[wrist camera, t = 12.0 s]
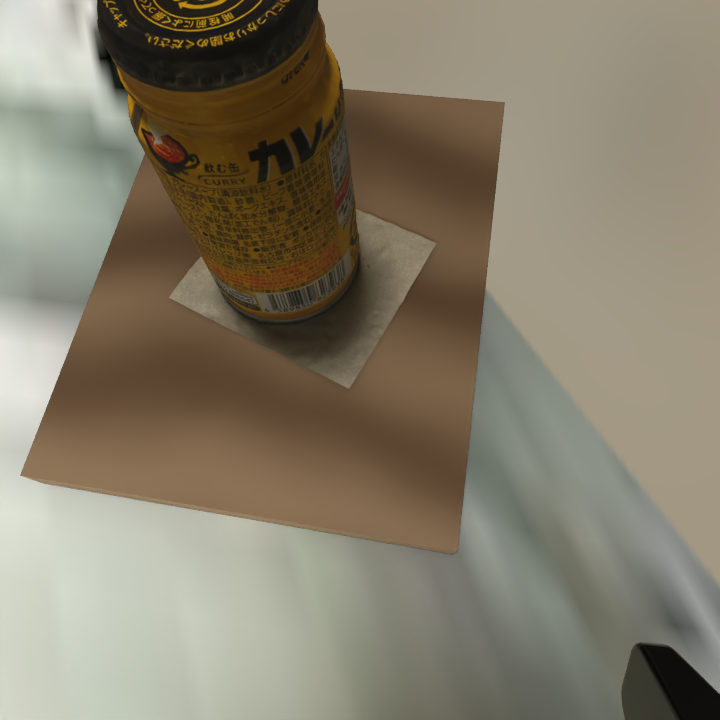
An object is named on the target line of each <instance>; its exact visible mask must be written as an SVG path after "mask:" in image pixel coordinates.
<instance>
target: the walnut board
mask: <svg viewBox="0 0 720 720" xmlns="http://www.w3.org/2000/svg"><path fill="white" fill-rule="evenodd" d="M343 91H344V101H345V112H346V120H347V129H348V138H349V154H350V163H351V173H352V183H353V189H354V196H355V197H354V199H355V203H356V209H357V210H360V211H362V212H364V213H367V214H371V215H373V216H375V217H377V218H378V219H381V220H383V221H385V222H389V223H392V224H394V225H396V226H398V227H400V228H402V229H404V230H406V231H409V232H412V233H415V234H417V235H420V236H422V237H424V238H425V239H428V240H430V241H432V242H435V243H436V245H435V247H434V248H433V250H432V252H431V253H430V255H429V257H428V258H427V260H426V262H425V264H424V265H423V267H422V269H421V271H420V273H419V274H418V276H417V277H416V279H415V280H414V282H413V284H412V285H411V287H410V289H409V291H408V293H407V295H406V296H405V298H404V301H403V302H402V303H401V305H400V306H399V308H398V310H397V311H396V313H395V315H394V316H393V318H392V320H391V322H390V323H389V325H388V326H387V328H386V330H385V332H384V333H383V335H382V337H381V338H380V339H379V341H378V343H377V345H376V346H375V348H374V350H373V351H372V353H371V355H370V356H369V358H368V359H367V361H366V363H365V365H364V366H363V368H362V369H361V370H360V372H359V374H358V375H357V377H356V379H355V380H354V382H353V384H352V385H351V387H350V388H349V389H348V388H346V387H344V386H342V385H340V384H339V383H337V382H335V381H333V380H331V379H329V378H327V377H325V376H323V375H321V374H319V373H317V372H314V371H312V370H310V369H308V368H306V367H303V366H302V365H300V364H298V363H296V362H294V361H292V360H290V359H289V358H286V357H284V356H283V355H281V354H279V353H277V352H276V351H274V350H272V349H270V348H268V347H265V346H263V345H260V344H258V343H256V342H255V341H253V340H250V339H248V338H246V337H244V336H242V335H240V334H239V333H237V332H234V331H232V330H230V329H228V328H226V327H224V326H222V325H220V324H219V323H217V322H215V321H214V320H211V319H209V318H207V317H205V316H203V315H201V314H199V313H197V312H195V311H194V310H192V309H190V308H188V307H186V306H184V305H182V304H180V303H178V302H176V301H174V300H172V299H170V298H169V296H170V295H171V294H172V292H173V291H174V289H175V288H176V287H177V285H178V284H179V283H180V281H181V280H182V279H183V278H184V276H185V275H186V274H187V272H188V271H189V269H190V268H191V267H193V265H194V264H195V263H196V261H197V260H198V259H199V258H200V257H201V255H200V253H199V251H198V249H197V247H196V245H195V244H194V242H193V240H192V238H191V236H190V235H189V233H188V231H187V229H186V227H185V225H184V223H183V222H182V220H181V217H180V216H179V214H178V212H177V211H176V209H175V207H174V205H173V203H172V201H171V199H170V197H169V196H168V194H167V192H166V190H165V189H164V187H163V185H162V183H161V181H160V179H159V177H158V175H157V173H156V171H155V169H154V168H153V166H152V164H151V162H150V160H149V159H148V157H147V155H146V153H145V156H144V158H143V161H142V163H141V166H140V168H139V171H138V174H137V176H136V179H135V181H134V184H133V186H132V189H131V192H130V194H129V197H128V199H127V202H126V204H125V207H124V210H123V212H122V215H121V217H120V220H119V223H118V225H117V228H116V230H115V233H114V235H113V238H112V241H111V243H110V246H109V248H108V251H107V253H106V256H105V259H104V261H103V264H102V266H101V269H100V271H99V274H98V277H97V279H96V282H95V284H94V287H93V289H92V292H91V295H90V297H89V300H88V302H87V305H86V308H85V310H84V313H83V315H82V318H81V320H80V323H79V326H78V328H77V331H76V333H75V336H74V338H73V341H72V344H71V346H70V349H69V351H68V354H67V356H66V359H65V362H64V364H63V367H62V369H61V372H60V375H59V377H58V380H57V382H56V385H55V387H54V390H53V393H52V395H51V398H50V400H49V403H48V405H47V408H46V411H45V413H44V416H43V418H42V421H41V423H40V426H39V429H38V431H37V434H36V436H35V439H34V441H33V444H32V447H31V449H30V452H29V454H28V457H27V460H26V462H25V465H24V467H23V470H22V472H21V475H20V476H23V477H26V478H29V479H32V480H35V481H38V482H41V483H45V484H50V485H56V486H62V487H68V488H73V489H79V490H85V491H91V492H96V493H102V494H108V495H114V496H119V497H125V498H131V499H137V500H142V501H148V502H154V503H160V504H166V505H171V506H177V507H183V508H189V509H194V510H200V511H206V512H212V513H217V514H223V515H229V516H235V517H240V518H246V519H252V520H258V521H263V522H269V523H275V524H281V525H286V526H292V527H298V528H304V529H310V530H315V531H321V532H327V533H333V534H338V535H344V536H350V537H356V538H361V539H367V540H373V541H379V542H384V543H390V544H396V545H402V546H407V547H413V548H419V549H425V550H430V551H436V552H442V553H448V554H455V553H456V552H457V551H458V544H459V534H460V524H461V515H462V505H463V496H464V486H465V477H466V467H467V458H468V448H469V438H470V429H471V419H472V410H473V400H474V391H475V381H476V372H477V362H478V352H479V343H480V333H481V324H482V314H483V305H484V295H485V286H486V276H487V267H488V257H489V247H490V238H491V228H492V219H493V209H494V199H495V189H496V180H497V171H498V161H499V152H500V142H501V133H502V123H503V113H504V102H492V101H480V100H469V99H457V98H445V97H433V96H420V95H409V94H397V93H385V92H372V91H361V90H349V89H343ZM362 258H363V260H365V259H366V258H364V257H362ZM367 267H368V269H369V268H370V265H367Z"/></svg>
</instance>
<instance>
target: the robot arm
mask: <svg viewBox="0 0 720 720" xmlns="http://www.w3.org/2000/svg"><path fill="white" fill-rule="evenodd" d="M622 706H623V711H624V716H625V720H720V694H719V693H718V692H717V691H716V690H715V689H714V688H713V687H712V686H711V685H710V684H709V683H708V682H707V681H706V680H705V679H704V678H703V677H702V676H701V675H700V674H699V673H698V672H697V671H696V670H695V669H694V668H693V667H692V666H690V665H689V664H688V663H687V662H686V661H685V660H684V659H683V658H682V657H681V656H680V655H679V654H678V653H677V652H676V651H675V650H674V649H672V648H671V647H669V646H667V645H663V644H652V643H641V642H640V643H637V644H635V645H634V647H633V649H632V651H631V655H630V658H629V662H628V666H627V670H626V673H625V677H624V681H623V685H622Z"/></svg>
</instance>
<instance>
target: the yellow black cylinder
mask: <svg viewBox="0 0 720 720" xmlns="http://www.w3.org/2000/svg"><path fill="white" fill-rule="evenodd" d="M97 13H98V21H97V22H98V29H99V32H100V35H101V39H102V40H103V42H104V44H105V47H106V49H107V50H108V52H109V53H110V55H111V57H112V59H113V61H114V62H115V64H116V67H117V71H118V74H119V76H120V80H121V82H122V83H123V86H124V88H125V90H126V92H127V93H128V110H129V117H130V120H131V124H132V126H133V129H134V132H135V134H136V136H137V138H138V140H139V142H140V144H141V145H142V147H143V149H144V151H145V153H146V155H147V157H148V159H149V160H150V162H151V164H152V166H153V168H154V169H155V171H156V173H157V175H158V177H159V179H160V181H161V183H162V185H163V187H164V189H165V190H166V192H167V194H168V196H169V197H170V199H171V201H172V203H173V205H174V207H175V209H176V211H177V212H178V214H179V216H180V217H181V220H182V222H183V223H184V225H185V227H186V229H187V231H188V233H189V235H190V236H191V238H192V240H193V242H194V244H195V245H196V247H197V249H198V251H199V253H200V255H201V257H200V258H199V259H198V260H197V261H196V263H195V264H194V265H193V267H191V268H190V269H189V271H188V272H187V274H186V275H185V276H184V278H183V279H182V280H181V281H180V283H179V284H178V285H177V287H176V288H175V289H174V291H173V292H172V294H171V295H170V296H169V298H170V299H172V300H174V301H176V302H178V303H180V304H182V305H184V306H186V307H188V308H190V309H192V310H194V311H195V312H197V313H199V314H201V315H203V316H205V317H207V318H209V319H211V320H214V321H215V322H217V323H219V324H220V325H222V326H224V327H226V328H228V329H230V330H232V331H234V332H237V333H239V334H240V335H242V336H244V337H246V338H248V339H250V340H253V341H255V342H256V343H258V344H260V345H263V346H265V347H268V348H270V349H272V350H274V351H276V352H277V353H279V354H281V355H283V356H284V357H286V358H289V359H290V360H292V361H294V362H296V363H298V364H300V365H302V366H303V367H306V368H308V369H310V370H312V371H314V372H317V373H319V374H321V375H323V376H325V377H327V378H329V379H331V380H333V381H335V382H337V383H339V384H340V385H342V386H344V387H346V388H348V389H349V388H350V387H351V385H352V384H353V382H354V380H355V379H356V377H357V375H358V374H359V372H360V370H361V369H362V368H363V366H364V365H365V363H366V361H367V359H368V358H369V356H370V355H371V353H372V351H373V350H374V348H375V346H376V345H377V343H378V341H379V339H380V338H381V337H382V335H383V333H384V332H385V330H386V328H387V326H388V325H389V323H390V322H391V320H392V318H393V316H394V315H395V313H396V311H397V310H398V308H399V306H400V305H401V303H402V302H403V301H404V298H405V296H406V295H407V293H408V291H409V289H410V287H411V285H412V284H413V282H414V280H415V279H416V277H417V276H418V274H419V273H420V271H421V269H422V267H423V265H424V264H425V262H426V260H427V258H428V257H429V255H430V253H431V252H432V250H433V248H434V247H435V245H436V243H435V242H432V241H430V240H428V239H425V238H424V237H422V236H420V235H417V234H415V233H412V232H409V231H406V230H404V229H402V228H400V227H398V226H396V225H394V224H392V223H389V222H385V221H383V220H381V219H378V218H377V217H375V216H373V215H371V214H367V213H364V212H362V211H360V210H357V209H356V203H355V199H354V197H355V196H354V189H353V183H352V173H351V163H350V154H349V138H348V129H347V120H346V112H345V101H344V91H343V84H342V79H341V73H340V68H339V65H338V62H337V60H336V58H335V55H334V54H333V52H332V50H331V49H330V47H329V45H328V44H327V43H326V40H325V38H326V35H325V26H324V23H323V20H322V18H321V15H320V13H319V11H318V0H97ZM362 257H364V258H366V259H365V260H363V258H362ZM367 265H370V268H369V269H368V267H367Z"/></svg>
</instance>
